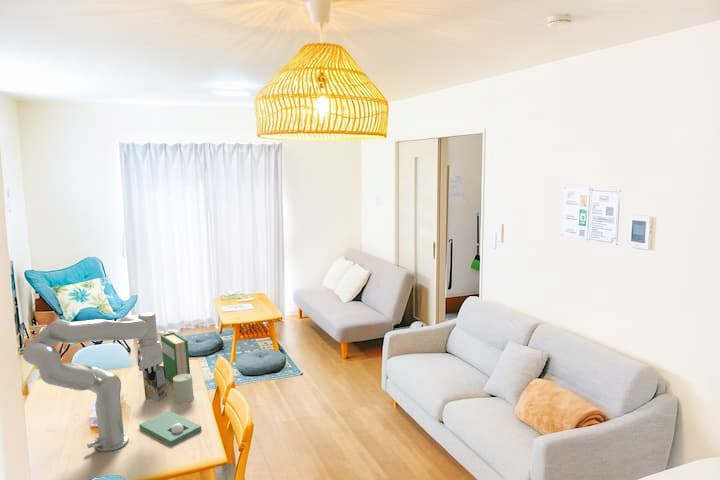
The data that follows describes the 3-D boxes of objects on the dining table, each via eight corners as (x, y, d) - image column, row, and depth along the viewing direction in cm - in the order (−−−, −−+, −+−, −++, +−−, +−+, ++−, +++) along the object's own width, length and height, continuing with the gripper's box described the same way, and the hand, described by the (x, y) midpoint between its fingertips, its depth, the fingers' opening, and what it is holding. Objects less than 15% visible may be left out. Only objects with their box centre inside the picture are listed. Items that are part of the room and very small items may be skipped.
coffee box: (168, 396, 266) (165, 366, 264) (159, 402, 260) (156, 371, 258) (154, 393, 270) (151, 363, 267) (144, 399, 264) (141, 368, 261)
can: (188, 404, 257) (186, 381, 255) (170, 402, 259) (168, 379, 257) (197, 395, 266) (195, 373, 264) (180, 394, 268) (178, 372, 266)
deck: (171, 445, 221) (170, 441, 221) (139, 428, 236) (139, 424, 235) (201, 430, 233) (201, 425, 233) (169, 414, 247) (169, 410, 247)
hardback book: (190, 383, 281) (187, 340, 277) (177, 387, 276) (173, 343, 272) (177, 373, 294) (174, 332, 290) (164, 377, 289) (160, 335, 285)
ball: (172, 436, 226) (168, 433, 230) (183, 437, 228) (180, 433, 232) (175, 424, 226) (171, 421, 230) (186, 425, 229) (182, 422, 233)
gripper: (137, 347, 226) (140, 388, 229) (168, 337, 238) (171, 376, 241) (127, 343, 231) (131, 383, 234) (158, 334, 242) (161, 372, 245)
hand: (151, 379), depth 237 cm, fingers closed
